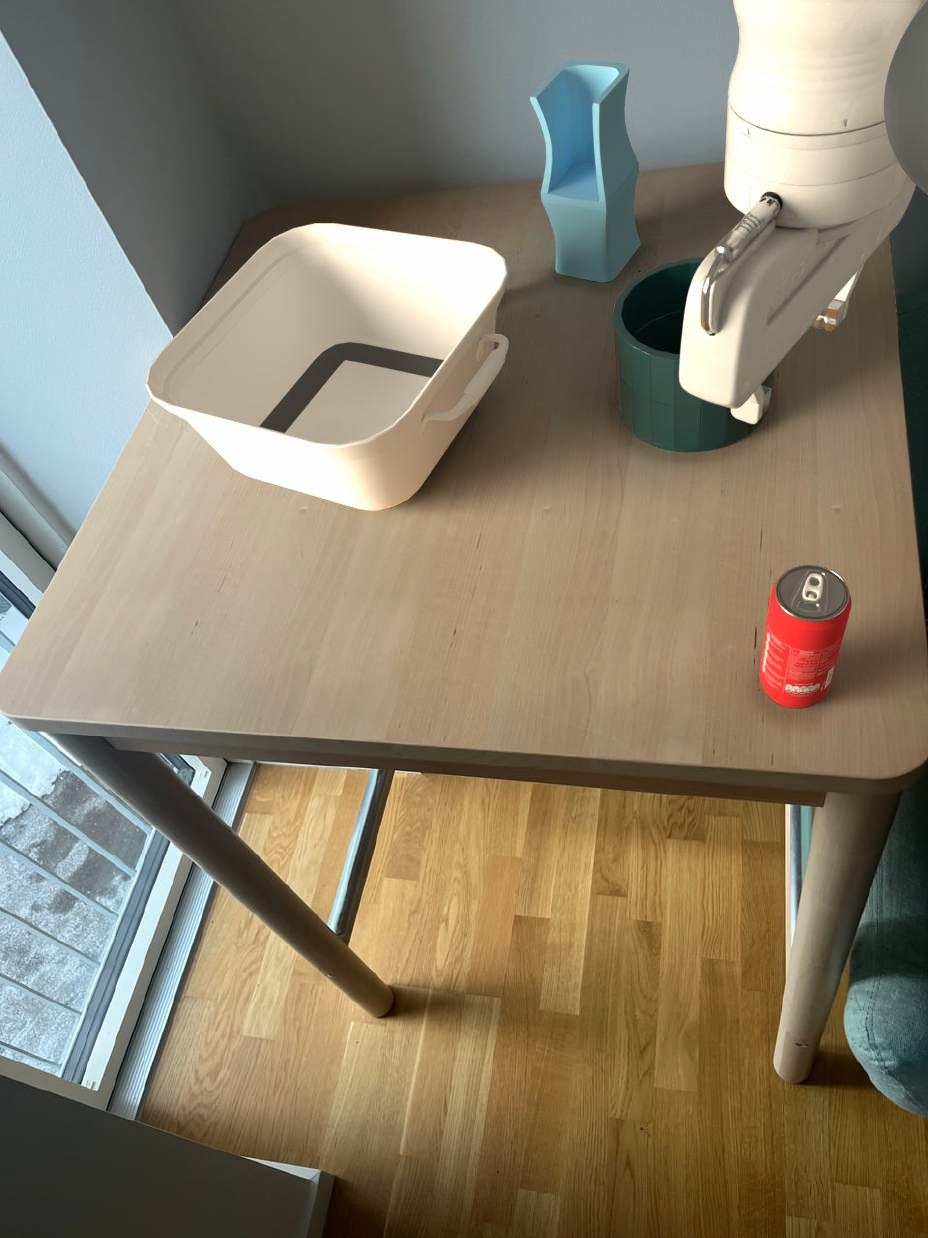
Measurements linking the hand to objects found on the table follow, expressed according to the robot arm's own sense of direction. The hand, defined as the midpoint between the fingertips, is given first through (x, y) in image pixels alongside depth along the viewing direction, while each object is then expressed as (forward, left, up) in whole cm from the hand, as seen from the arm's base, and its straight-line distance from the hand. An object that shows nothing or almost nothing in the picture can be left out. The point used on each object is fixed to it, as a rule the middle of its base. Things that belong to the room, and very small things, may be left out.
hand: (789, 367), depth 56 cm
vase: (+20, -48, -24) cm, 57 cm away
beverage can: (-3, +8, -24) cm, 26 cm away
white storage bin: (+40, -18, -24) cm, 50 cm away
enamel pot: (+7, -24, -24) cm, 35 cm away
